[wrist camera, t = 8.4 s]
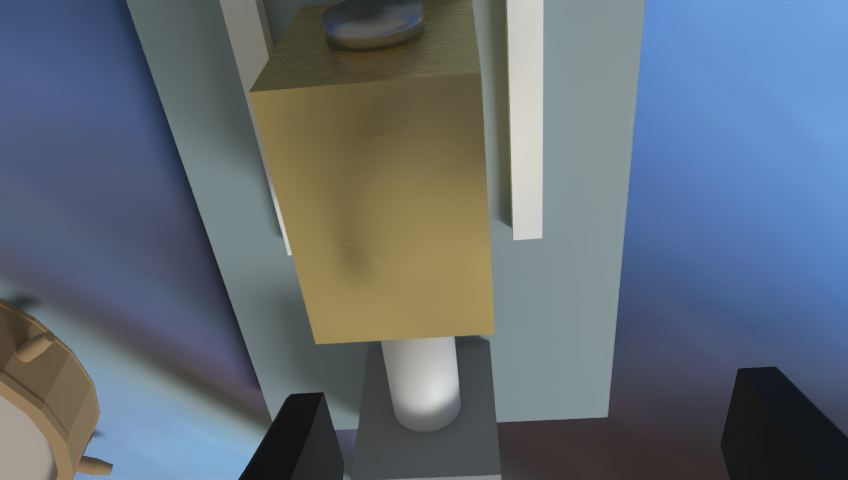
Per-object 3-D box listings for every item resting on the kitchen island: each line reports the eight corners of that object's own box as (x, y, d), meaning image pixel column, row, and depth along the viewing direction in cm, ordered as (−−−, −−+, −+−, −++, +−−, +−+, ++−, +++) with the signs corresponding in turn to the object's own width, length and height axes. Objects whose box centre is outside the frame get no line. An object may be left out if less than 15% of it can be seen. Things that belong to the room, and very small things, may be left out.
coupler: (469, -32, 15) (479, 42, 11) (483, 225, 19) (495, 350, 15) (295, -15, 15) (241, 63, 11) (345, 235, 19) (319, 359, 15)
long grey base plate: (676, -611, 11) (893, -965, 6) (599, 385, 25) (642, 552, 19) (-8, -502, 12) (-370, -720, 7) (284, 401, 26) (243, 565, 20)
